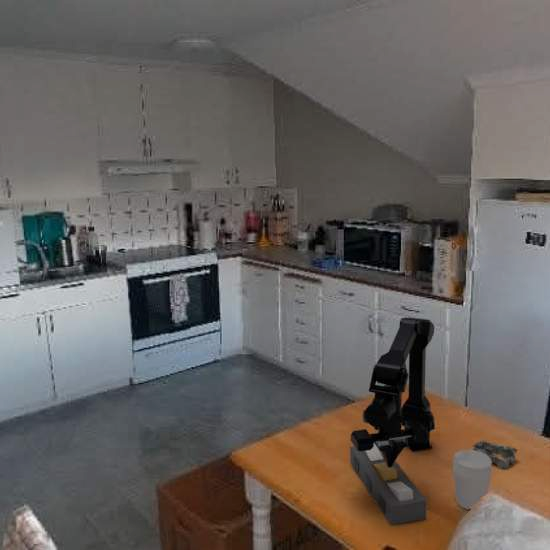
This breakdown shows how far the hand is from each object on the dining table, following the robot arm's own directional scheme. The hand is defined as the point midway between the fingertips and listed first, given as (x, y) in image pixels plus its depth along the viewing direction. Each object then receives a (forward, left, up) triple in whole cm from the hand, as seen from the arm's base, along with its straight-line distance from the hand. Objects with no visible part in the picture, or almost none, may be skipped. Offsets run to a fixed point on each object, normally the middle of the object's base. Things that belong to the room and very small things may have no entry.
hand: (389, 466), depth 142 cm
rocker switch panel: (0, -2, -8) cm, 8 cm away
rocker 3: (0, +7, -4) cm, 8 cm away
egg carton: (-35, -8, -8) cm, 37 cm away
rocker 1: (0, -12, -4) cm, 12 cm away
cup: (-18, +9, -8) cm, 21 cm away
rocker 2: (0, -2, -4) cm, 4 cm away
